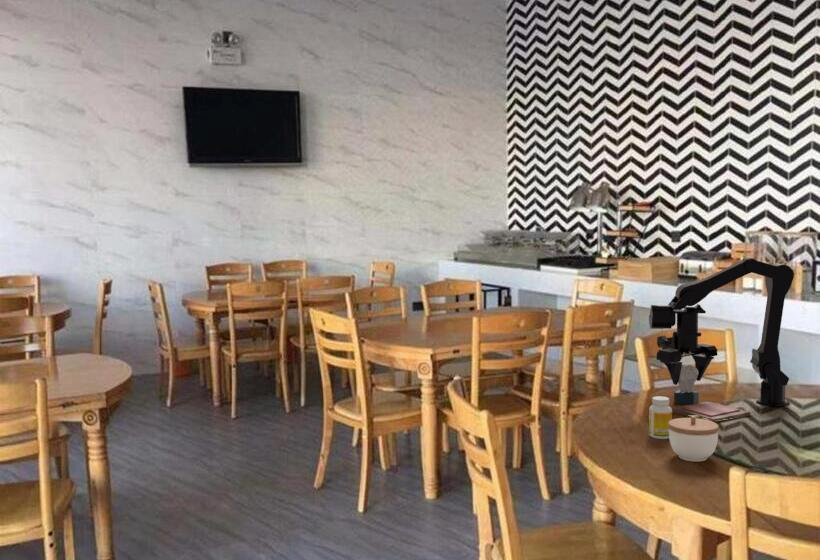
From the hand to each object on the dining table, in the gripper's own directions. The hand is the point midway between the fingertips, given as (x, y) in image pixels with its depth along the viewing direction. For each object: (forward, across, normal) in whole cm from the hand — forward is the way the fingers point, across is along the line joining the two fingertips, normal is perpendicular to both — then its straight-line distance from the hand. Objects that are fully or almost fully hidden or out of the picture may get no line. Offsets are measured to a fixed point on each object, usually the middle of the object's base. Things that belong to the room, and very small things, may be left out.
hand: (686, 382), depth 226 cm
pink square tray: (+6, +4, +12) cm, 14 cm away
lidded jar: (+6, +37, +36) cm, 52 cm away
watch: (+6, 0, 0) cm, 6 cm away
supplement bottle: (+6, +31, +20) cm, 37 cm away
